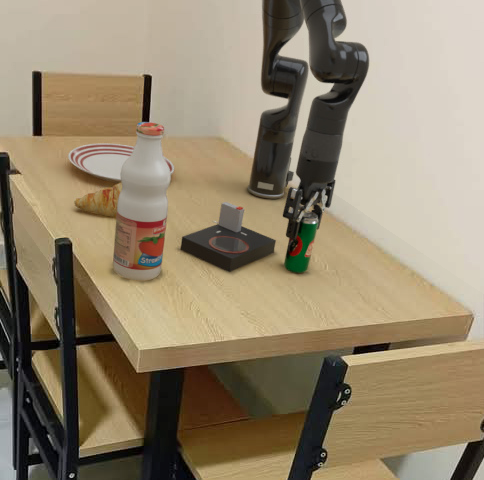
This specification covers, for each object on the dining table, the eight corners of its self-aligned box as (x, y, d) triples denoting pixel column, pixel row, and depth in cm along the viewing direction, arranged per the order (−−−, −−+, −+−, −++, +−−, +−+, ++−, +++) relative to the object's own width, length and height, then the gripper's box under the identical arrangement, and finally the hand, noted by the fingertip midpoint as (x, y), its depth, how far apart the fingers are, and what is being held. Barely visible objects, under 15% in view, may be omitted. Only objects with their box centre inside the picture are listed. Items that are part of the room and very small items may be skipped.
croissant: (76, 230, 165) (80, 206, 158) (69, 195, 170) (72, 171, 163) (166, 227, 172) (174, 204, 165) (157, 193, 176) (164, 170, 170)
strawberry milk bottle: (124, 256, 148) (137, 114, 134) (168, 268, 146) (185, 125, 131) (103, 273, 141) (114, 125, 126) (149, 286, 138) (165, 136, 124)
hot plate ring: (224, 233, 157) (225, 232, 157) (256, 247, 153) (257, 246, 153) (200, 242, 151) (200, 241, 151) (232, 257, 147) (233, 256, 147)
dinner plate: (192, 175, 197) (194, 163, 195) (133, 199, 177) (134, 185, 175) (110, 149, 208) (111, 137, 206) (45, 168, 188) (45, 155, 186)
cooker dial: (218, 225, 161) (221, 202, 158) (222, 223, 162) (226, 200, 159) (236, 232, 158) (240, 209, 155) (240, 231, 159) (244, 207, 157)
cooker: (223, 229, 167) (225, 216, 165) (276, 251, 160) (279, 238, 158) (174, 247, 155) (176, 233, 154) (229, 272, 148) (231, 257, 146)
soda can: (306, 276, 151) (319, 221, 145) (282, 271, 151) (293, 216, 145) (308, 266, 155) (320, 212, 149) (284, 261, 156) (295, 207, 149)
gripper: (322, 143, 147) (305, 220, 156) (283, 153, 137) (267, 234, 146) (354, 153, 144) (335, 231, 152) (317, 165, 134) (298, 247, 142)
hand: (302, 233), depth 149 cm, fingers open, 8 cm apart
